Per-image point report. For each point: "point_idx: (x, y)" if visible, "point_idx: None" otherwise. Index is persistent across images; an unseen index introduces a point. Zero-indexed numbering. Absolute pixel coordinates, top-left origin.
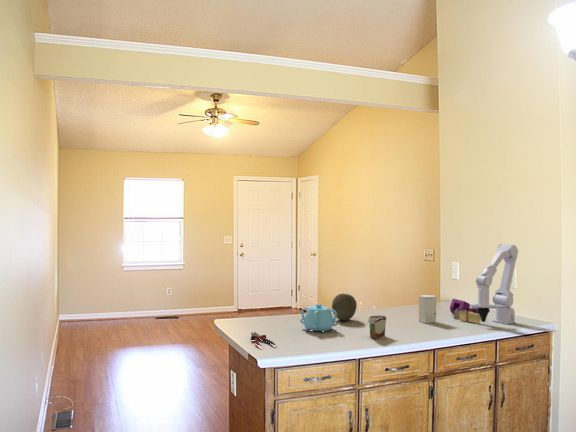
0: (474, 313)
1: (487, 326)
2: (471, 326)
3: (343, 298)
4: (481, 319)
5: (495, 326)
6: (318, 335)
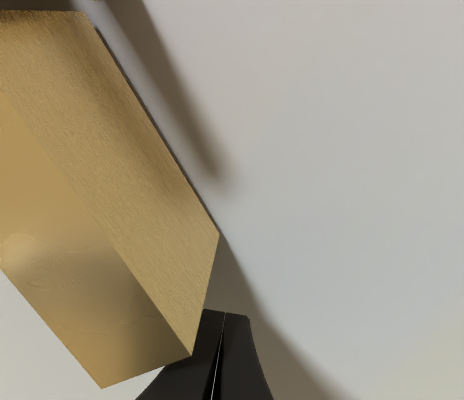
0: (50, 251)
1: None
2: (5, 350)
3: None
4: None
5: (362, 397)
6: None
